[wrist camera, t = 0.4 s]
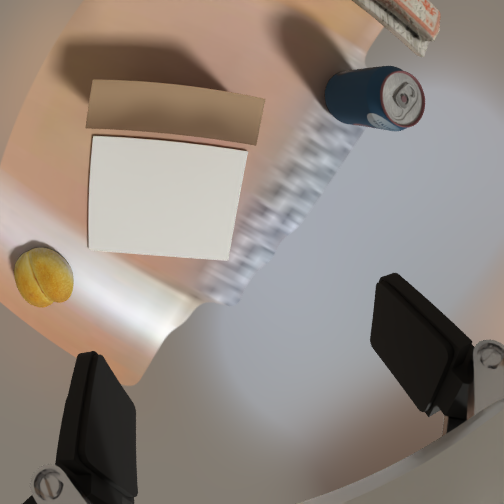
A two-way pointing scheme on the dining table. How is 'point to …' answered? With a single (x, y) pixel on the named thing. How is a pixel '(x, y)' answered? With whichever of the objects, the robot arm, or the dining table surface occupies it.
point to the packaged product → (406, 20)
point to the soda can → (376, 98)
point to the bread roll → (43, 277)
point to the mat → (163, 197)
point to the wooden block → (174, 110)
